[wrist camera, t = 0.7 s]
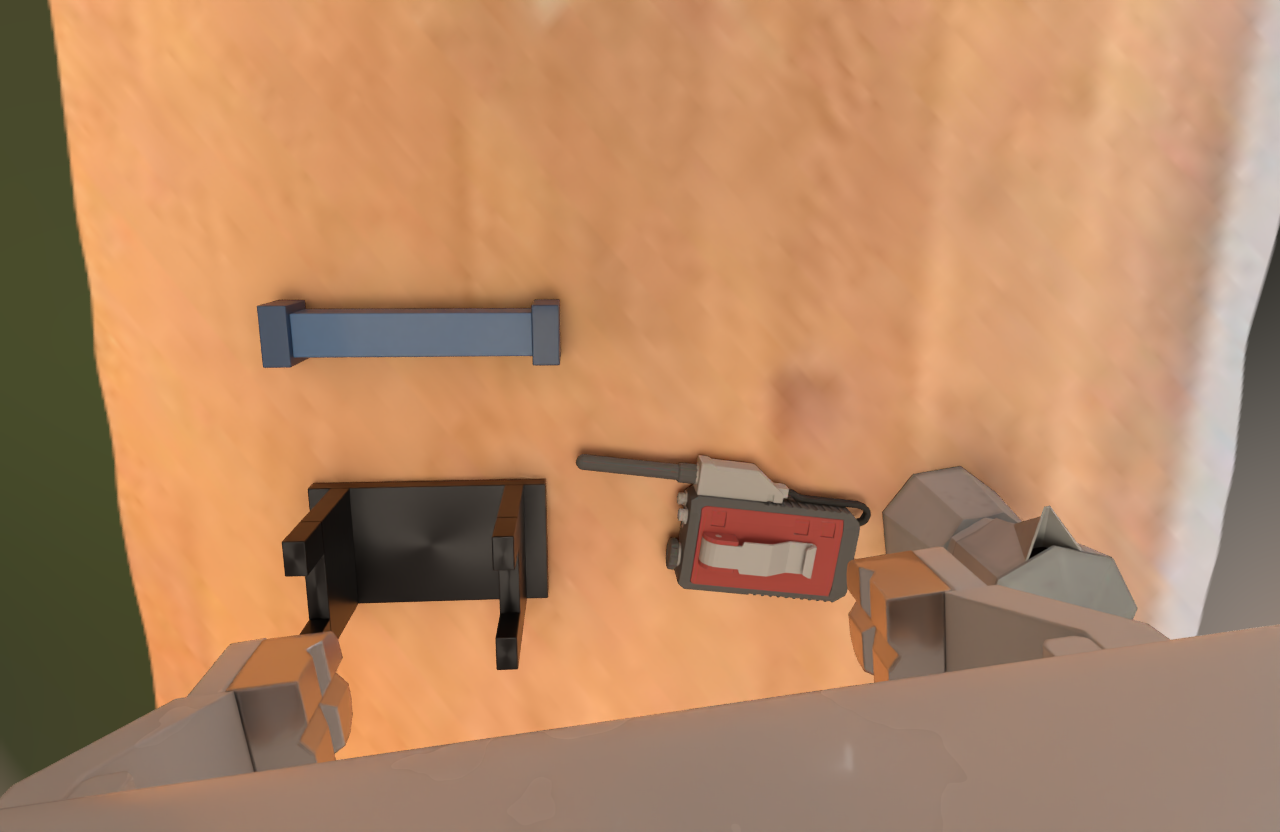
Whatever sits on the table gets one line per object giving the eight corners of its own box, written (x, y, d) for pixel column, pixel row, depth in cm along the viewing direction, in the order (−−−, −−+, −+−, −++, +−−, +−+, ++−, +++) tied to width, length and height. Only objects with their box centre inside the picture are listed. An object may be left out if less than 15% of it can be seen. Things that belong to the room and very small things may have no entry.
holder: (313, 482, 53) (253, 542, 43) (546, 478, 55) (540, 535, 45) (323, 596, 55) (268, 678, 45) (548, 590, 56) (543, 668, 46)
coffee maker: (871, 449, 56) (1006, 553, 38) (996, 427, 56) (1187, 520, 39) (888, 645, 59) (1020, 821, 42) (1006, 623, 60) (1185, 789, 42)
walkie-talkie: (869, 471, 56) (578, 439, 54) (894, 492, 52) (578, 458, 50) (845, 590, 58) (562, 563, 56) (867, 619, 54) (561, 591, 52)
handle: (278, 300, 51) (256, 305, 47) (559, 299, 52) (558, 304, 48) (283, 357, 51) (262, 367, 48) (560, 355, 53) (559, 365, 49)
